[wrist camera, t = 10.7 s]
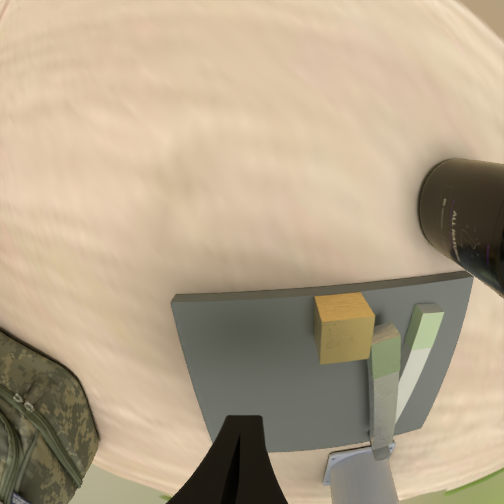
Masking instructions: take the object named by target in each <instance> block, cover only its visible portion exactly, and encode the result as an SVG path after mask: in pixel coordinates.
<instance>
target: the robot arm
mask: <svg viewBox="0 0 504 504" xmlns="http://www.w3.org/2000/svg"><path fill="white" fill-rule="evenodd" d="M395 445H396V443H395V442H394V441H393V443H392V444H391V445H388V446H389V449H390V452H391V453H392V451H393V449H394V447H395ZM389 457H390V456H389ZM389 457H388V458H389ZM388 458H386V459H384V460H380V461H376V460H375V459H374V456H373V452H372V448H371V447H366V448H361V449H355V450H349V451H343V452H337V453H332V454H330V455H329V459H328V463H327V467H326V471H325V475H324V479H323V485H324V486H326V485H330V488H331V497H332V504H399V500H398V496H397V492H396V488H395V484H394V480H393V477H392V473H391V470H390V466H389V462H388ZM166 504H288V503H287V501H286V499H285V497H284V495H283V493H282V490H281V488H280V486H279V484H278V481H277V479H276V476H275V474H274V471H273V469H272V466H271V463H270V459H269V456H268V453H267V449H266V445H265V433H264V425H263V417H262V416H260V415H228V416H226V418H225V420H224V423H223V425H222V427H221V429H220V431H219V433H218V435H217V437H216V439H215V441H214V443H213V444H212V446H211V448H210V449H209V451H208V453H207V454H206V456H205V458H204V459H203V461H202V462H201V464H200V465H199V466H198V468H197V469H196V471H195V472H194V473H193V475H192V476H191V477H190V478H189V480H188V481H187V482H186V483H185V484H184V486H183V487H182V488H181V489H180V490H179V491H178V492H177V493H176V494H175V495H174V496H173V497H172V498H171V499H170V500H169V501H168V502H167V503H166Z"/></svg>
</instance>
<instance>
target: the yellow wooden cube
mask: <svg viewBox="0 0 504 504" xmlns="http://www.w3.org/2000/svg"><path fill="white" fill-rule="evenodd" d="M374 322H375V315H374V313H373V312H372V310H371V308H370V307H369V305H368V303H367V302H366V300H365V299H364V297H363V295H362V294H361V292H357V293H346V294H336V295H324V296H314V339H315V344H316V348H317V353H318V358H319V363H320V365H322V364H331V363H340V362H348V361H355V360H362V359H369V355H370V349H371V343H372V336H373V329H374Z"/></svg>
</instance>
